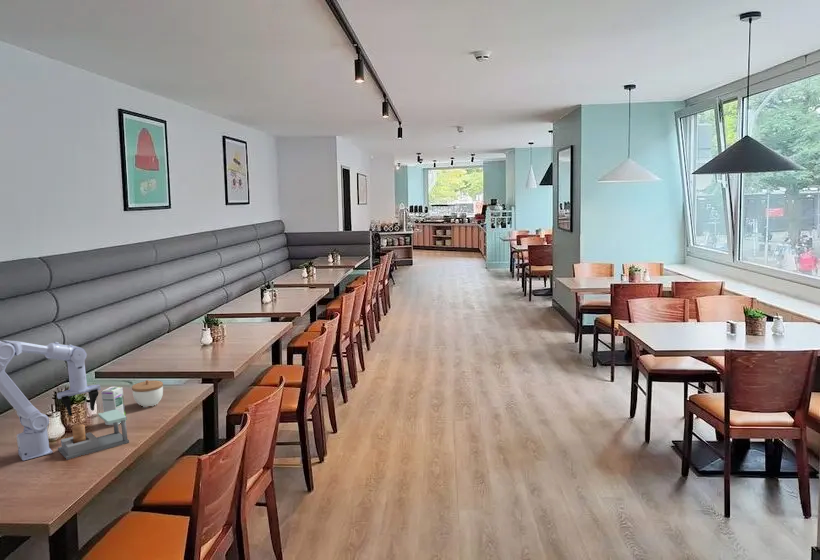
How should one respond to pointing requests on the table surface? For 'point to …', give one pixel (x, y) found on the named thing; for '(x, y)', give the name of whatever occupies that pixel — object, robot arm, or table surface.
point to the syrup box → (113, 400)
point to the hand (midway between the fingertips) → (81, 412)
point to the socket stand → (97, 443)
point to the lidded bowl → (148, 392)
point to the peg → (78, 433)
